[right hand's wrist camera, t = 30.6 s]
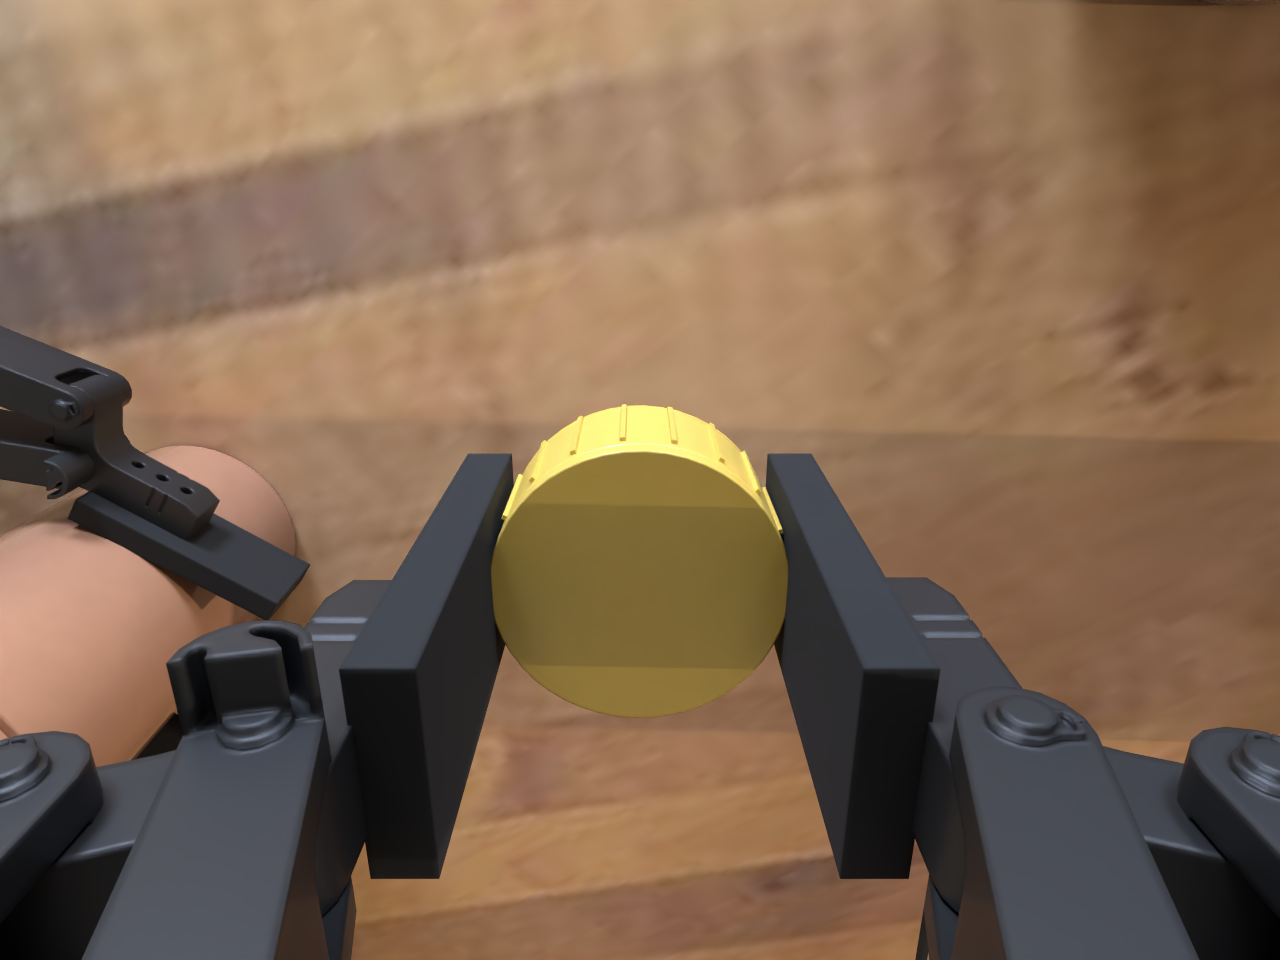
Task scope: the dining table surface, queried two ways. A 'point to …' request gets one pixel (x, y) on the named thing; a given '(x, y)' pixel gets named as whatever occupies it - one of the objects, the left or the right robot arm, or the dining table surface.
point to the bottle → (112, 615)
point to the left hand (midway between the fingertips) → (238, 681)
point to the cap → (639, 564)
